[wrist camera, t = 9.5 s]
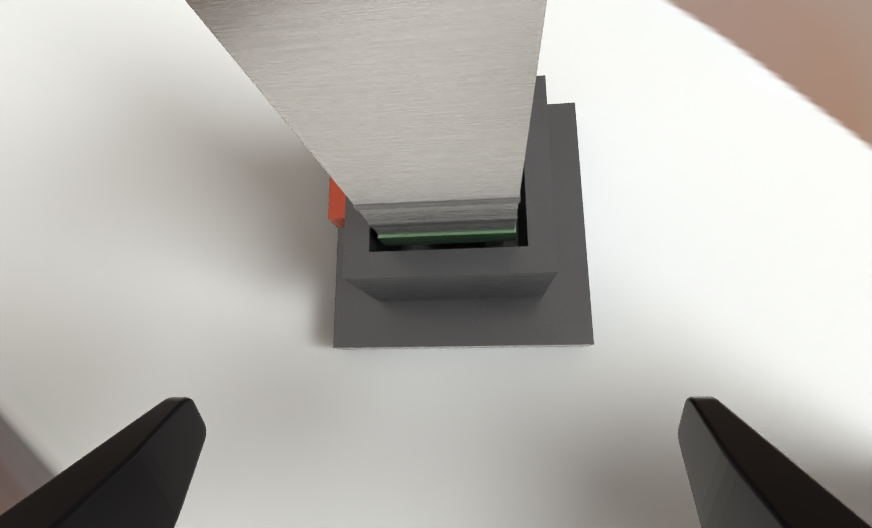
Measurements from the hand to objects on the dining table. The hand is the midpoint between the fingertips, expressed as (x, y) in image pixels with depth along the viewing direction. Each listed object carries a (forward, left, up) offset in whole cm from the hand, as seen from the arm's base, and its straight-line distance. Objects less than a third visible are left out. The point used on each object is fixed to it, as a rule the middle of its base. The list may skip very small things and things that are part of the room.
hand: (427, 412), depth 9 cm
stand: (+4, +5, -11) cm, 13 cm away
